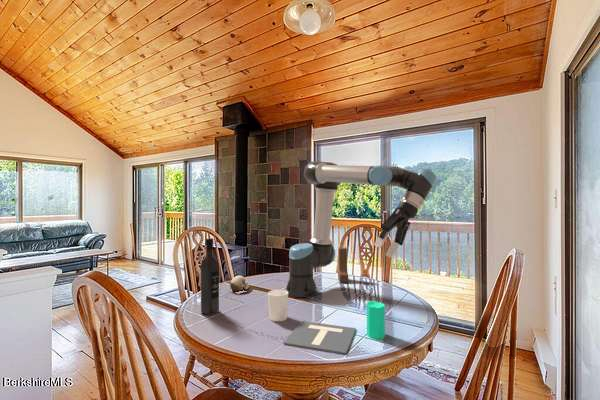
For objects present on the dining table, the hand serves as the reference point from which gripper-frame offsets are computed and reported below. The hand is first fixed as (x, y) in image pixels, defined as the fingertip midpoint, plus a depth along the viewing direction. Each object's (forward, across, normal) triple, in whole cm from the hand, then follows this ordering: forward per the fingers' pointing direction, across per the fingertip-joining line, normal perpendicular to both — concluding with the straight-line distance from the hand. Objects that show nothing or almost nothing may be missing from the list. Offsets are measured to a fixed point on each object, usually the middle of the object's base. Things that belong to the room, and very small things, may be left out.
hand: (382, 251), depth 119 cm
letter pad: (+36, -14, -2) cm, 39 cm away
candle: (+27, -4, -14) cm, 30 cm away
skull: (+51, +6, +57) cm, 77 cm away
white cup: (+43, -10, +18) cm, 48 cm away
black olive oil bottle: (+57, -20, +42) cm, 74 cm away
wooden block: (+20, +46, +32) cm, 59 cm away
